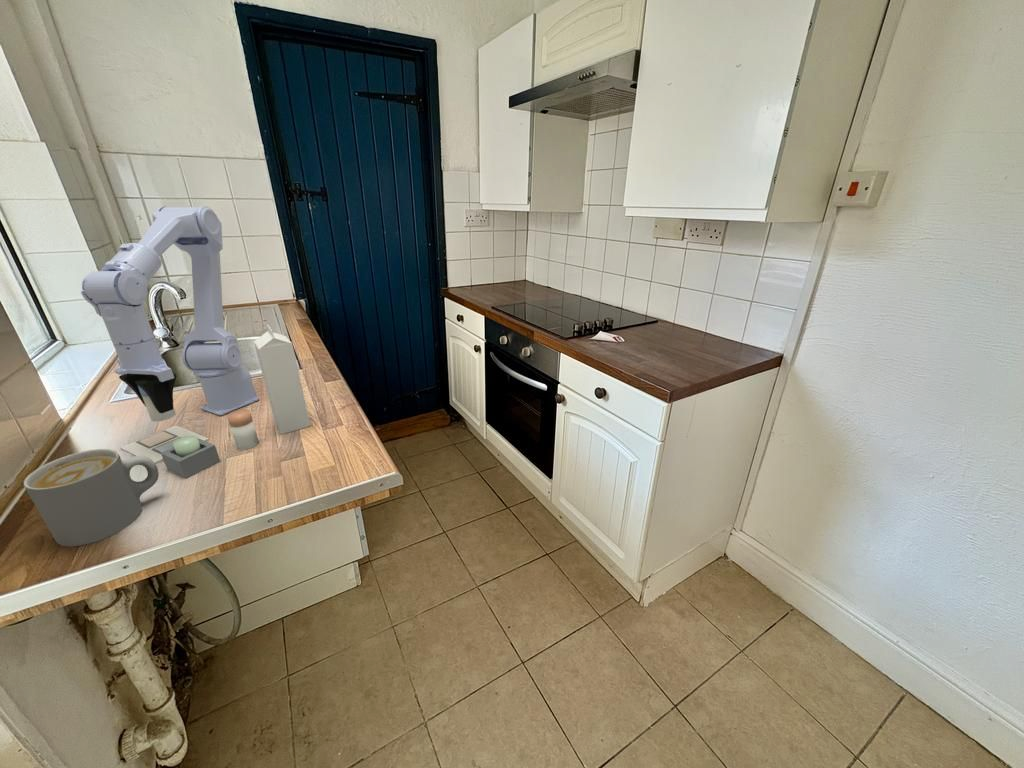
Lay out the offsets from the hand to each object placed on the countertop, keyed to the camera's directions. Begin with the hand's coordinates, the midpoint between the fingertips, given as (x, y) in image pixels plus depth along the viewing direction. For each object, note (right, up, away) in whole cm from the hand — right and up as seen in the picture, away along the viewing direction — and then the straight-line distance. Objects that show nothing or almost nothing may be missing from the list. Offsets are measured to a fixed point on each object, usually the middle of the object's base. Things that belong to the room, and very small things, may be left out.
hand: (160, 408), depth 80 cm
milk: (+19, -4, +12) cm, 23 cm away
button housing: (+8, -10, -2) cm, 13 cm away
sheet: (-3, -7, +5) cm, 9 cm away
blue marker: (0, -2, +1) cm, 2 cm away
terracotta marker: (+14, -7, +4) cm, 16 cm away
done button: (+8, -9, -3) cm, 12 cm away
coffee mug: (+5, -16, -15) cm, 22 cm away
